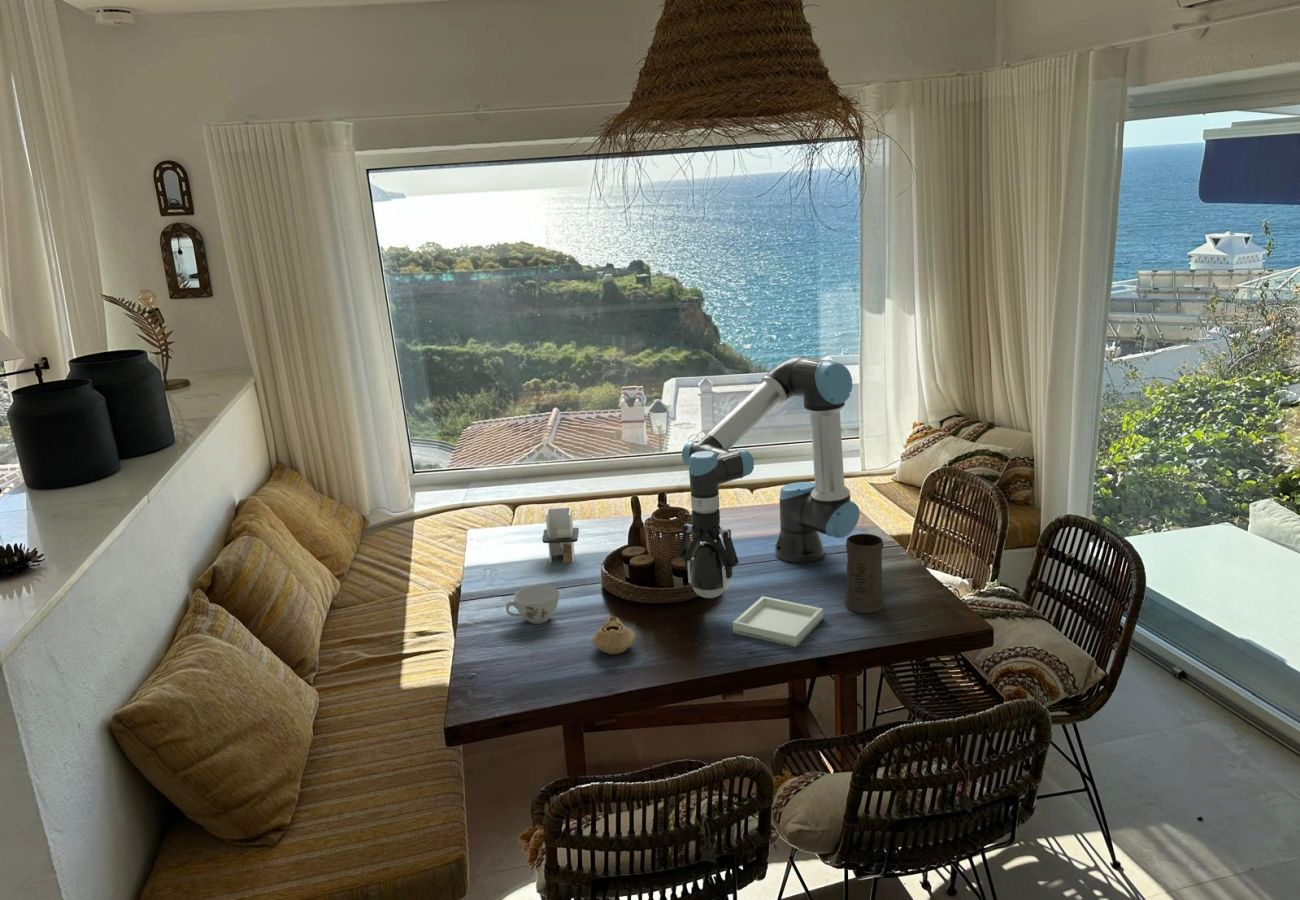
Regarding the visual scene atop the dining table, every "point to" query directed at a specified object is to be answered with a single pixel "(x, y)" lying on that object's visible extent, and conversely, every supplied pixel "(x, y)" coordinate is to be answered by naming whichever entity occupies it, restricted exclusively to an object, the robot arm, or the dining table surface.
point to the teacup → (535, 603)
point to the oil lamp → (614, 637)
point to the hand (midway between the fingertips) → (709, 584)
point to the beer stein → (864, 573)
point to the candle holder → (560, 533)
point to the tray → (778, 621)
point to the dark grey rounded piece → (707, 572)
